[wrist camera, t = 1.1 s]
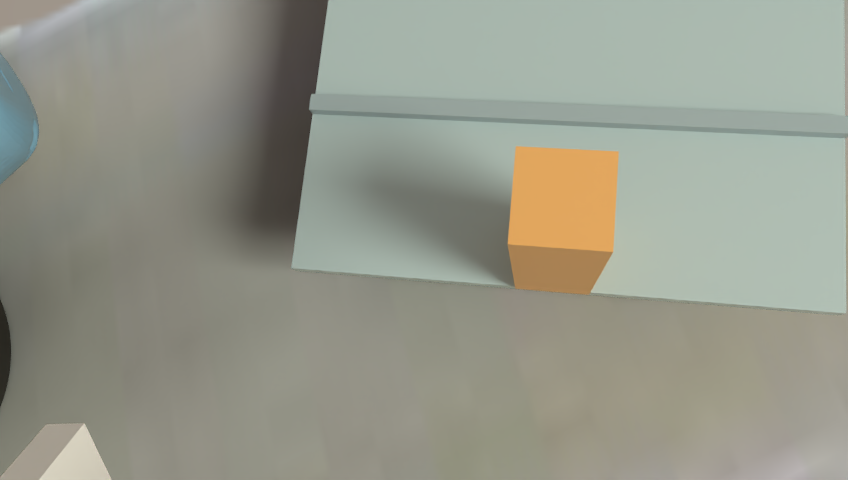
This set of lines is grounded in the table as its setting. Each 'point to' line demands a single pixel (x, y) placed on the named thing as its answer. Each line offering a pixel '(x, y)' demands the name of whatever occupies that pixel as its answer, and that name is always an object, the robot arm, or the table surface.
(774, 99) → the lid
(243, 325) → the table surface
